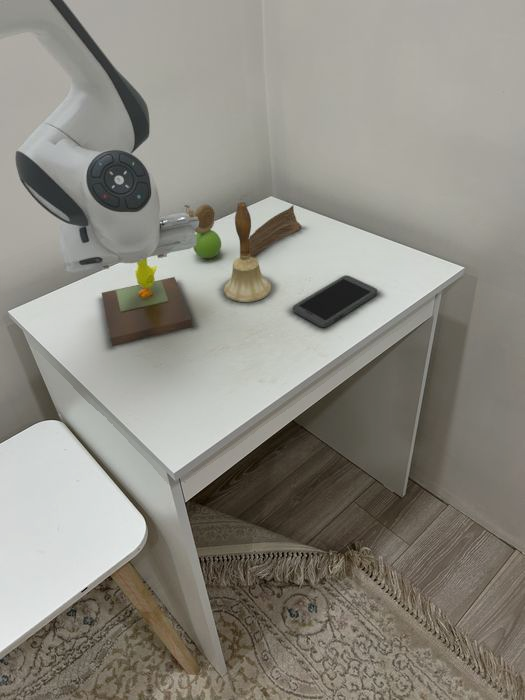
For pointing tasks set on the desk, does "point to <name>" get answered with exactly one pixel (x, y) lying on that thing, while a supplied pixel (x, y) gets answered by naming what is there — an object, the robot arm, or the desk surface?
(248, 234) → the hand bell
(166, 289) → the board
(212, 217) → the snail figurine
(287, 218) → the wood plank
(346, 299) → the cell phone
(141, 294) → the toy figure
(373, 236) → the desk surface
